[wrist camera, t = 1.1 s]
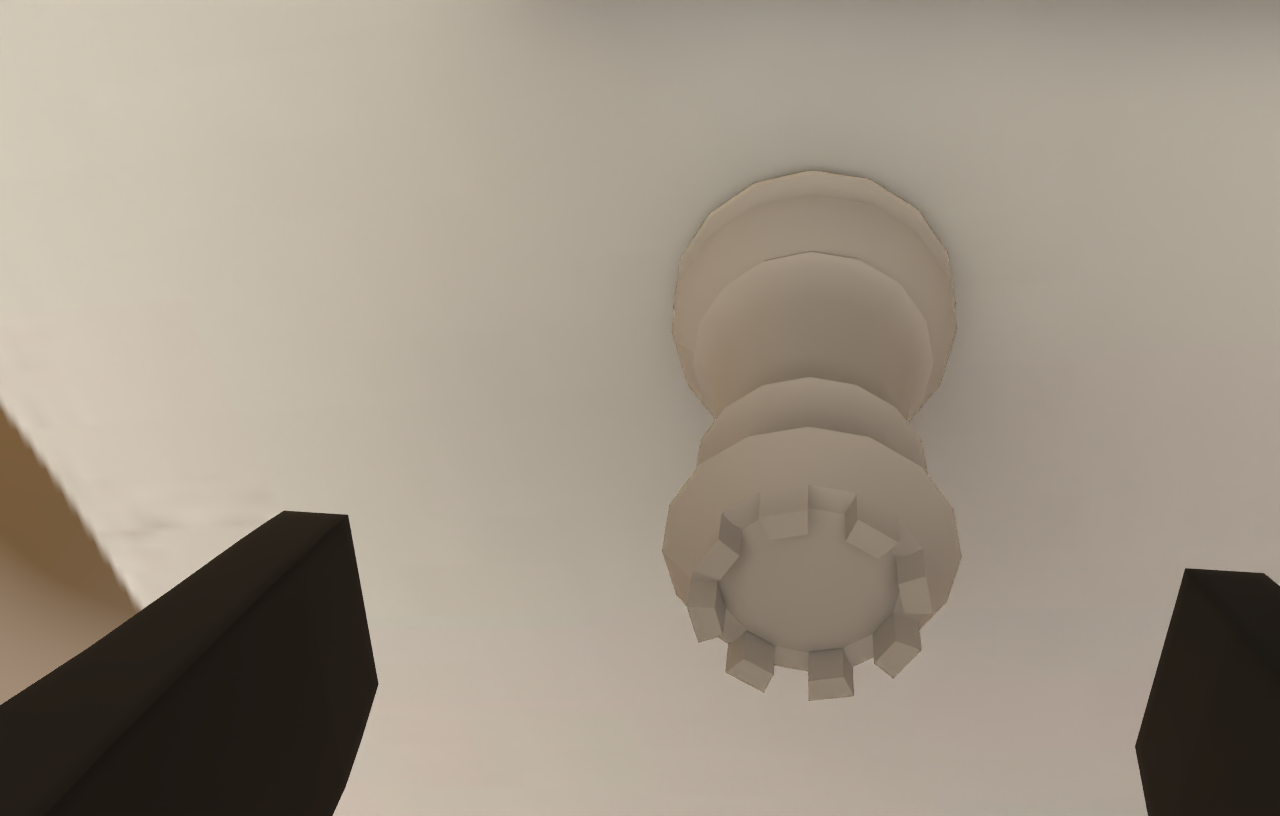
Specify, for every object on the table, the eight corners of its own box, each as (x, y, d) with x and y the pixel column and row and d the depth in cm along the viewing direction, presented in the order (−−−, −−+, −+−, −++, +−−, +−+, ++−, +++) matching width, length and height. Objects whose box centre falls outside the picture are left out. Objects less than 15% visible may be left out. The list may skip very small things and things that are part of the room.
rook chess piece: (684, 410, 20) (614, 754, 13) (667, 164, 18) (575, 424, 11) (945, 410, 19) (1013, 774, 13) (961, 155, 17) (1056, 425, 10)
